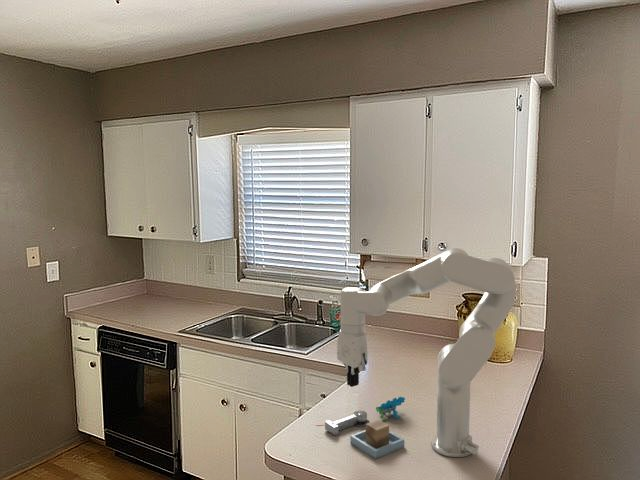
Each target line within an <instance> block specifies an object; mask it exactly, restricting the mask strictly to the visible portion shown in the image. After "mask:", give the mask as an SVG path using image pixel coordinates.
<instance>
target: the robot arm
mask: <svg viewBox="0 0 640 480" xmlns="http://www.w3.org/2000/svg"><path fill="white" fill-rule="evenodd" d="M449 283H453V284H456V285H459V286H462V287H467V288H470V289H474V290H476V291H477V290H478V291H480V292H483V295H482V297H481V299H480V300H479V302H478V303H477V304H476V306H475V308H473V310H472V311H471V312H470V314H469V315H468V316H467V318H466V319H465V320H464V321H463V323H461V325H460V327H459V334H458V335H459V337H458V338H457V341H455V343H449V344H446V345H445V346H443V347H442V348H441V349H440V351H439V353H438V354H437V355H438V356H437V388H436V389H437V390H436V391H437V392H436V393H437V395H436V396H437V397H436V403H437V404H436V409H437V410H436V435H435V436H433V437H432V439H431V440H430V441H431V442H430V443H431V448H432V449H433V450H434V451H435V452H436V453H438V454H440V455H442V456H445V457H451V458H463V457H464V458H465V457H467V456H470V455H472V456H476V455H477V453H478V450H479V447H480V445H478V444H476V443H474V442H473V436H472V435H470V419H471V418H470V415H471V413H470V411H471V408H470V407H471V382H472V381H473V379H474V378H475V377H476V376H477V375H478V373H479V372H480V371H481V369H482V368H483V367H484V365H486V363H487V362H488V360H489V359H490V358H491V356H492V354H493V352H494V350H495V346H496V337H495V334H496V333H497V332H498V330H499V329H500V327H501V325H503V323H504V321H505V320H506V319H507V317H508V315H509V314H510V312H511V310H512V309H513V306H514V303H515V300H516V295H517V285H516V280H515V274H514V272H513V270H512V268H511V266H510V265H509V263H507V262H506V261H505V260H504V259H503V258H502V259H501V258H497V257H492V258H489V259H487V260H486V259H481V258H478V257H474V256H472V255H471V256H470V255H469V254H468V253H467V252H466V251H465V250H463V249H461V248H457V247H456V248H451V249H448V250H445V251H443V252H441V253H440V254H437V255H435V256H434V257H432V258H430V259H428V260H426V261H424V262H422V263H420V264H417V265H416V266H413V267H412V268H411V267H410V268H409V269H406V270H404V271H403V272H400V273H398V274H395V275H392V276H391V277H389V278H387V279H384V280H383V281H381V282H378V283H376V284H375V285H373V286H372V287H371V288H370V289H369V290H368V291H365V290H364V289H363V288H361V287H354V286H353V287H349V286H348V287H345V288H343V289H342V290H341V291H340V296H339V297H340V330H339V332H338V337H337V343H336V345H337V347H336V358H337V360H338V361H339V362H340V363H342V364H343V365H344V367H345V372H346V385H347V386H349V387H351V388H353V387H356V386H358V385H359V383H360V379H359V378H360V377H359V374H360V373H361V372H364V371H365V372H366V371H367V370H366V369H367V368H366V367H367V365H368V358H369V357H368V355H369V353H368V352H369V351H368V342H367V341H368V340H367V336H366V315H369V316H375V317H376V316H378V317H379V316H382V315H384V314H385V313H386V312H387V311H388V310H389V308H390V305H391V304H393V303H395V302H397V301H400V300H401V299H404V298H406V297H409V296H412V295H425V294H427V293H430V292H432V291H435V290H436V289H438V288H440V287H442V286H445V285H447V284H449Z"/></svg>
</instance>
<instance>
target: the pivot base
mask: <svg viewBox="0 0 640 480" xmlns="http://www.w3.org/2000/svg"><path fill="white" fill-rule="evenodd" d="M367 423H370V420H369V419H367V422H366V423H365V424H355V425H353V426H355V427H361V428H363V427H366V424H367ZM315 425H316V426H325V423H316V424H315Z"/></svg>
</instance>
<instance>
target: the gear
mask: <svg viewBox="0 0 640 480" xmlns="http://www.w3.org/2000/svg"><path fill="white" fill-rule="evenodd" d="M405 400H406V398H405V397H404V396H403V397H402V396H399V397H394V398H392V400H387V401H386V402H385V403H381V404H380V406H376V407H375V410H376V413H379V415H381V417H382V419H383V421H386V416H385V414H386V413H389V412H391V411H392V413H393V416H394V417H395V419H396V420H397V419H399V415H398V413H397V407H398V406H399V407H400V406H401V405H402V404H403V403H405V402H406V401H405Z"/></svg>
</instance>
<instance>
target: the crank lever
mask: <svg viewBox="0 0 640 480" xmlns="http://www.w3.org/2000/svg"><path fill="white" fill-rule="evenodd" d="M367 420H368V413H367V412H366V411H365V410H356V411H354V412H353V414H351V415H348V416H346V417H343V418H340V419H336V420H334V421H331V420H330V419H328V420H326V421H324V424H325V425H324V430H326V431H327V432H329V433H330V434H331V435H333V436H337V435H339V431H341V430H343V429H346V428H347V429H348V428H349V427H352V426H354V425H355V424H365V423H366V422H367Z"/></svg>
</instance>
